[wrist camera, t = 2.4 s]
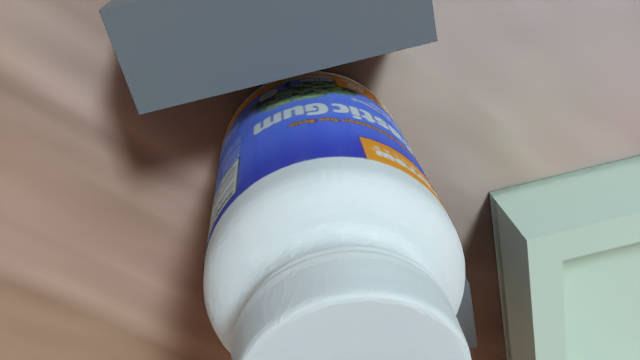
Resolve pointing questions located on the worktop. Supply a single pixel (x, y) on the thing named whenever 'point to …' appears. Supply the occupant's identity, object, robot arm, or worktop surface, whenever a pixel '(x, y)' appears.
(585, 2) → the worktop surface
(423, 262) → the pill bottle
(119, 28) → the block
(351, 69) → the worktop surface
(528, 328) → the tray
